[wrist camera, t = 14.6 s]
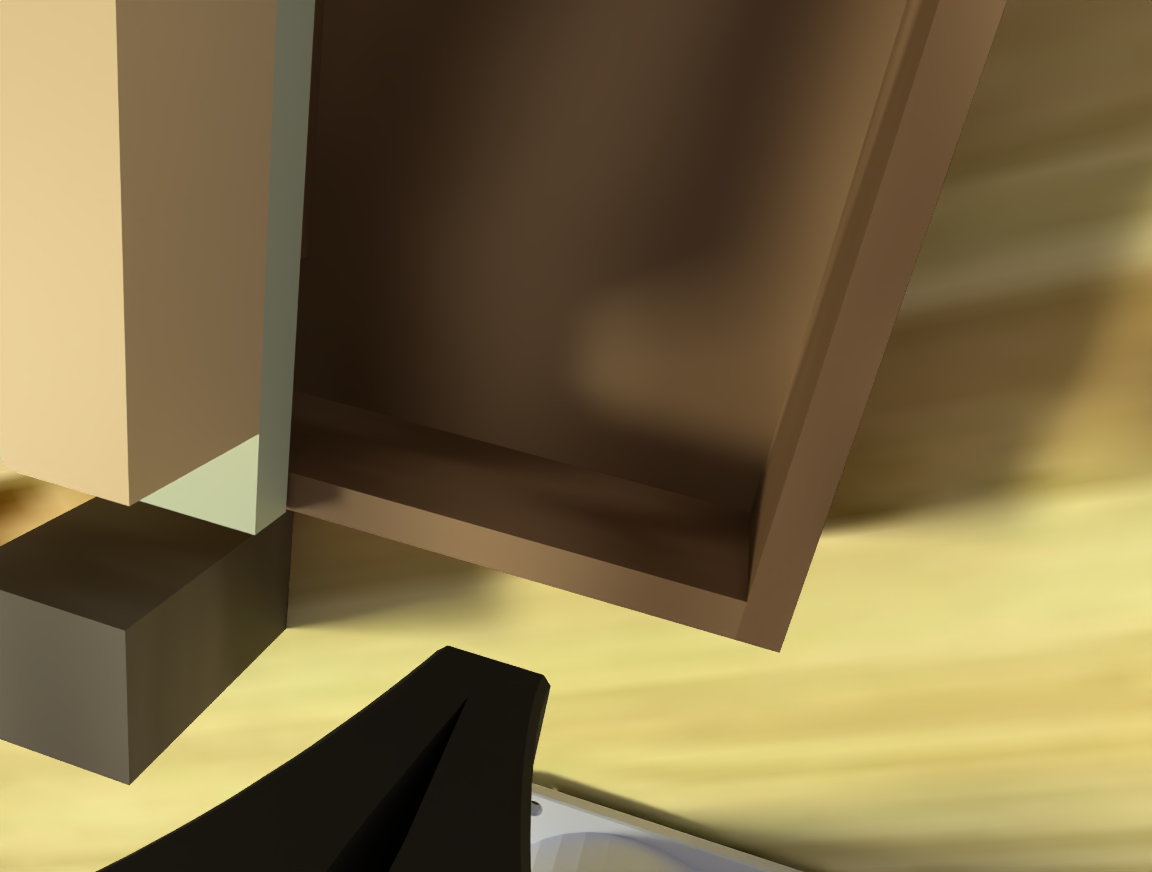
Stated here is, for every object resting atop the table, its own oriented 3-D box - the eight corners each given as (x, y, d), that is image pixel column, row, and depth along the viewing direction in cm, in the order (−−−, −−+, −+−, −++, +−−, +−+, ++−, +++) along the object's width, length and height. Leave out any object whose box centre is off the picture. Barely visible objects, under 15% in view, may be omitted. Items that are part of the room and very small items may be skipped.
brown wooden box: (1016, -204, 13) (1136, -373, 9) (776, 537, 18) (779, 652, 14) (56, -335, 15) (-207, -516, 11) (87, 351, 20) (-84, 401, 16)
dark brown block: (294, 503, 21) (124, 630, 15) (286, 628, 22) (128, 785, 17) (159, 464, 21) (-52, 573, 16) (160, 588, 23) (-32, 728, 17)
